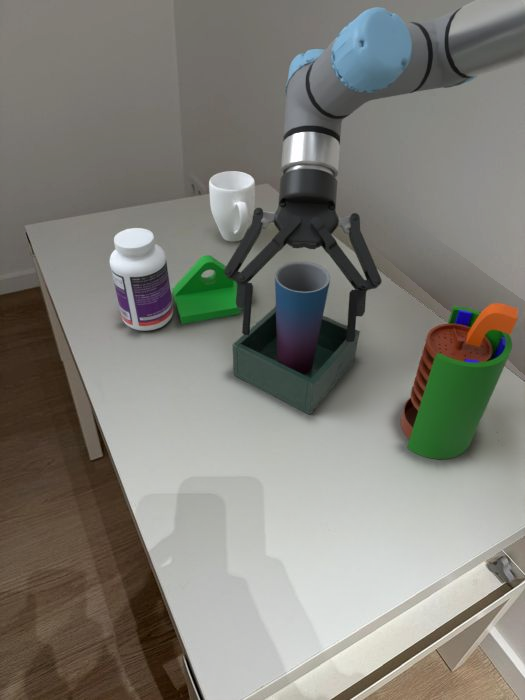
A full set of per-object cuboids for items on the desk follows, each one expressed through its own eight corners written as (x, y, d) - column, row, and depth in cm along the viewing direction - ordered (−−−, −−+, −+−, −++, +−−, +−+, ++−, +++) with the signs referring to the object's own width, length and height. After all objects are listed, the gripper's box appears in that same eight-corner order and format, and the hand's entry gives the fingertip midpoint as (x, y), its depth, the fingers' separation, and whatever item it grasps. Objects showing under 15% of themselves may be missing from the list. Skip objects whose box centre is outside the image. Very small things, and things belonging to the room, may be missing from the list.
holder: (354, 361, 75) (360, 331, 71) (309, 415, 67) (313, 384, 63) (282, 328, 80) (283, 298, 76) (233, 375, 73) (232, 344, 69)
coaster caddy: (400, 393, 71) (436, 270, 57) (467, 404, 69) (520, 281, 56) (399, 453, 63) (440, 328, 50) (475, 466, 62) (538, 342, 48)
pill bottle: (181, 306, 84) (172, 227, 74) (162, 337, 78) (150, 256, 68) (134, 298, 85) (119, 220, 75) (113, 329, 79) (94, 248, 70)
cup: (312, 345, 76) (322, 258, 66) (324, 378, 71) (336, 289, 61) (267, 350, 75) (270, 263, 65) (276, 383, 70) (280, 294, 60)
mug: (207, 228, 103) (204, 173, 95) (247, 223, 105) (247, 168, 97) (222, 260, 94) (220, 202, 87) (265, 253, 96) (267, 196, 89)
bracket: (181, 324, 81) (177, 288, 76) (173, 295, 86) (168, 260, 81) (254, 311, 83) (255, 276, 79) (242, 284, 89) (242, 250, 84)
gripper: (398, 192, 71) (388, 345, 70) (218, 182, 72) (207, 333, 71) (411, 171, 63) (401, 342, 62) (211, 160, 65) (197, 328, 64)
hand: (297, 338), depth 67 cm, fingers open, 13 cm apart
